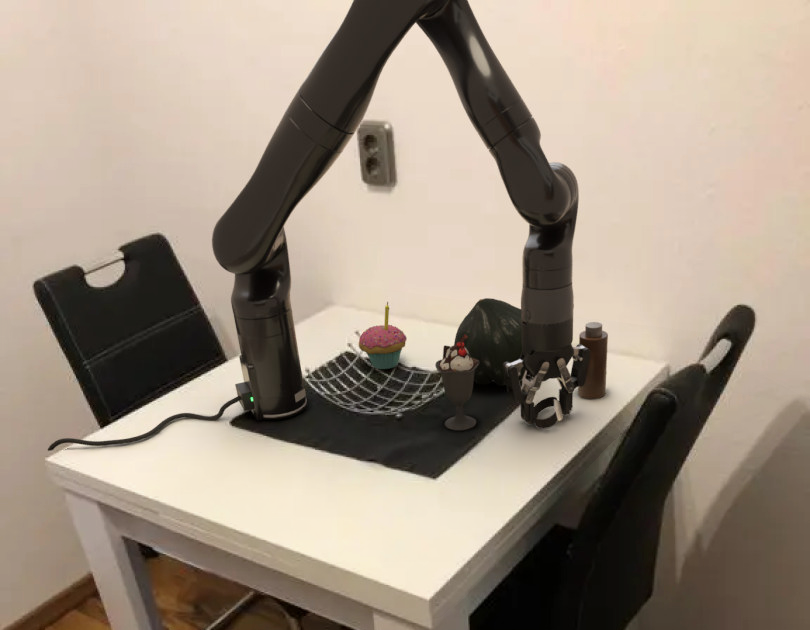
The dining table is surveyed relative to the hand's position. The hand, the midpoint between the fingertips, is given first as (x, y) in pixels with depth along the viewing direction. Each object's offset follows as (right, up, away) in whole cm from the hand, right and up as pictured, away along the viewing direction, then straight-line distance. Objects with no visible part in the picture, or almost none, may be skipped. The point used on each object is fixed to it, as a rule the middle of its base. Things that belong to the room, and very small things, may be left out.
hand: (546, 417), depth 141 cm
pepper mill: (+8, +5, +7) cm, 12 cm away
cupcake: (-26, +13, +24) cm, 38 cm away
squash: (-6, +9, +16) cm, 19 cm away
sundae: (-13, -1, +2) cm, 13 cm away
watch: (0, -1, 0) cm, 1 cm away
